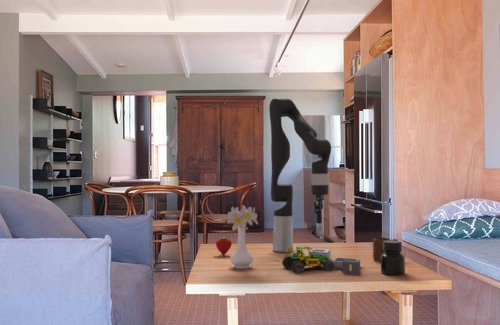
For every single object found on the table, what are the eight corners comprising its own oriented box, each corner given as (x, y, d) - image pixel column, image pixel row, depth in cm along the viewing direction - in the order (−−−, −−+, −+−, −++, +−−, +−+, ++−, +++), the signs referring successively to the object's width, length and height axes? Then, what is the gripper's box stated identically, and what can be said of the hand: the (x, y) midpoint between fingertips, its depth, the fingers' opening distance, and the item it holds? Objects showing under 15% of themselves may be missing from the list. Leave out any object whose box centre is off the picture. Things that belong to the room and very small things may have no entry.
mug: (395, 258, 206) (395, 237, 207) (404, 261, 199) (403, 239, 199) (370, 259, 204) (370, 238, 204) (377, 262, 197) (377, 240, 197)
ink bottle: (405, 271, 179) (404, 240, 179) (407, 276, 170) (407, 243, 171) (379, 270, 181) (378, 239, 181) (380, 275, 173) (379, 243, 173)
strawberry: (232, 255, 214) (232, 234, 215) (216, 256, 214) (216, 234, 214) (231, 253, 220) (231, 232, 220) (215, 254, 219) (215, 233, 220)
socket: (308, 260, 202) (308, 251, 202) (312, 257, 209) (312, 248, 209) (326, 261, 199) (326, 252, 199) (330, 258, 206) (330, 249, 206)
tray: (331, 268, 185) (331, 261, 185) (335, 264, 193) (335, 257, 193) (357, 270, 181) (356, 262, 181) (359, 266, 189) (359, 258, 190)
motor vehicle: (334, 271, 182) (333, 244, 182) (288, 274, 176) (288, 247, 176) (320, 265, 193) (320, 240, 193) (277, 268, 186) (277, 242, 187)
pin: (315, 236, 204) (315, 204, 204) (317, 234, 207) (317, 203, 207) (323, 236, 203) (322, 204, 203) (324, 235, 206) (324, 203, 206)
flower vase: (226, 272, 178) (225, 207, 179) (227, 263, 197) (226, 204, 197) (259, 272, 179) (259, 207, 179) (257, 263, 197) (257, 204, 198)
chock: (358, 274, 174) (358, 262, 174) (342, 273, 177) (342, 261, 177) (360, 272, 178) (360, 260, 178) (344, 271, 180) (344, 259, 180)
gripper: (325, 184, 197) (325, 225, 197) (331, 183, 210) (331, 221, 210) (308, 184, 199) (308, 224, 199) (314, 183, 213) (315, 220, 213)
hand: (320, 222), depth 205 cm, fingers closed on pin, 3 cm apart
